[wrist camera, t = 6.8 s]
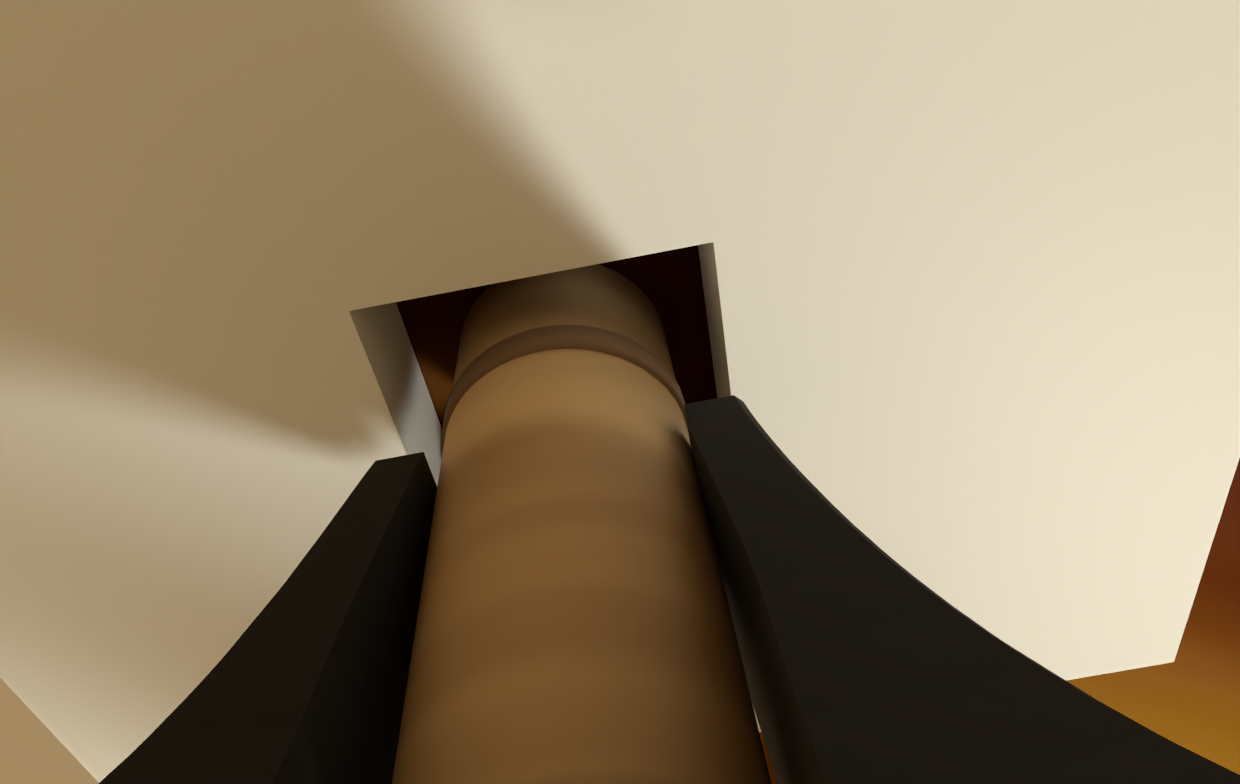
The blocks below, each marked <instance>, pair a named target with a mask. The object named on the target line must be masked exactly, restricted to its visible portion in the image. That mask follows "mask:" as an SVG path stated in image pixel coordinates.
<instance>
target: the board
mask: <svg viewBox="0 0 1240 784" xmlns="http://www.w3.org/2000/svg"><path fill="white" fill-rule="evenodd" d="M696 245H698V251H699V259H700V267H701V274H702V282H703V290H704V298H705V306H706V314H707V322H708V330H709V337H710V345H711V353H712V361H713V369H714V377H715V385H716V393H717V398H721V397H726V396H732V395H734V396H736V397H737V398H739V399H740V400H742V401H743V402H744V403H745V405H746V406H747V408H748V409H749V411H750V412H751V413H752V415H753V416H754V417H755V419H756V420H757V421H758V423H759V424H760V425H761V427H762V428H763V429H764V430H765V432H766V433H767V434H768V435H769V436H770V438H771V439H772V440H773V441H774V442H775V444H776V445H777V446H778V447H779V448H780V449H781V451H782V452H783V453H784V454H785V455H786V456H787V457H788V459H789V460H790V461H791V462H792V463H793V464H794V465H795V466H796V467H797V468H798V470H799V471H800V472H801V473H802V474H803V475H804V476H805V477H806V478H807V479H808V480H809V481H810V482H811V483H812V484H813V485H814V486H815V487H816V488H817V489H818V490H819V491H820V492H821V493H822V494H823V495H824V496H825V497H826V498H827V499H828V500H829V501H830V502H831V503H832V504H833V505H834V506H835V507H836V508H837V509H838V510H839V511H840V512H841V513H842V514H843V515H844V516H845V517H846V518H847V519H848V520H849V521H850V522H851V523H853V524H854V525H855V526H856V527H857V528H858V529H859V530H860V531H861V532H863V533H864V534H865V535H866V536H867V537H868V538H869V539H870V540H872V541H873V542H874V543H875V544H876V545H877V546H878V547H879V548H881V549H882V550H883V551H884V552H885V553H886V554H888V555H889V556H890V557H891V558H892V559H893V560H895V561H896V562H897V563H898V564H899V565H901V566H902V567H903V568H904V569H906V570H907V571H908V572H909V573H910V574H912V575H913V576H914V577H915V578H917V579H918V580H919V581H921V582H922V583H923V584H924V585H926V586H927V587H928V588H930V589H931V590H932V591H934V592H935V593H936V594H938V595H939V596H940V597H942V598H943V599H944V600H945V601H947V602H948V603H949V604H951V605H952V606H953V607H955V608H956V609H958V610H959V611H961V612H962V613H963V614H965V615H966V616H968V617H969V618H970V619H972V620H973V621H975V622H976V623H977V624H979V625H980V626H982V627H983V628H985V629H986V630H987V631H989V632H990V633H992V634H993V635H994V636H996V637H997V638H999V639H1000V640H1002V641H1003V642H1005V643H1006V644H1008V645H1010V646H1011V647H1013V648H1014V649H1016V650H1018V651H1019V652H1021V653H1022V654H1024V655H1026V656H1027V657H1029V658H1030V659H1032V660H1034V661H1035V662H1037V663H1038V664H1040V665H1042V666H1043V667H1045V668H1046V669H1048V670H1050V671H1051V672H1053V673H1054V674H1056V675H1058V676H1059V677H1061V678H1062V679H1064V680H1071V679H1077V678H1083V677H1089V676H1094V675H1100V674H1106V673H1112V672H1118V671H1124V670H1130V669H1136V668H1142V667H1147V666H1153V665H1159V664H1165V663H1171V662H1174V660H1175V657H1176V654H1177V651H1178V648H1179V644H1180V641H1181V638H1182V635H1183V632H1184V629H1185V626H1186V623H1187V620H1188V616H1189V613H1190V610H1191V607H1192V604H1193V601H1194V598H1195V595H1196V592H1197V588H1198V585H1199V582H1200V579H1201V576H1202V573H1203V570H1204V567H1205V564H1206V560H1207V557H1208V554H1209V551H1210V548H1211V545H1212V542H1213V539H1214V536H1215V532H1216V529H1217V526H1218V523H1219V520H1220V517H1221V514H1222V511H1223V508H1224V504H1225V501H1226V498H1227V495H1228V492H1229V489H1230V486H1231V483H1232V480H1233V476H1234V473H1235V470H1236V467H1237V464H1238V461H1239V458H1240V0H0V678H1V679H2V680H3V681H4V682H5V683H6V684H7V685H8V686H9V688H10V689H11V690H12V691H13V692H14V693H15V694H16V695H17V696H18V697H19V698H20V699H21V700H22V701H23V702H24V703H25V705H26V706H27V707H28V708H29V709H30V710H31V711H32V712H33V713H34V714H35V715H36V716H37V717H38V718H39V719H40V721H41V722H42V723H43V724H44V725H45V726H46V727H47V728H48V729H49V730H50V731H51V732H52V733H53V734H54V735H55V737H56V738H57V739H58V740H59V741H60V742H61V743H62V744H63V745H64V746H65V747H66V748H67V749H68V750H69V751H70V752H71V754H72V755H73V756H74V757H75V758H76V759H77V760H78V761H79V762H80V763H81V764H82V765H83V766H84V767H85V768H86V769H87V770H88V772H89V773H91V775H92V776H93V777H94V778H95V779H96V780H97V781H98V782H99V783H100V782H101V781H102V780H103V779H104V778H105V777H106V776H107V775H108V774H109V773H111V772H112V771H113V770H114V769H115V768H116V767H117V766H118V765H119V764H120V763H121V762H123V761H124V760H125V759H126V758H127V757H128V756H129V755H130V754H131V753H132V752H133V751H134V750H135V749H136V748H137V747H138V746H139V745H140V744H141V743H142V742H143V741H145V740H146V739H147V738H148V737H149V736H150V735H151V734H152V732H153V731H154V730H155V729H156V728H157V727H158V726H159V725H160V724H161V723H162V722H163V721H164V720H165V719H166V718H167V717H168V716H169V715H170V714H171V713H172V712H173V711H174V710H175V709H176V708H177V707H178V706H179V705H180V704H181V703H182V702H183V701H184V700H185V699H186V698H187V697H188V695H189V694H190V693H191V692H192V691H193V690H194V689H195V688H196V687H197V686H198V685H199V684H200V682H201V681H202V680H203V679H204V678H205V677H206V676H207V675H208V674H209V673H210V672H211V670H212V669H213V668H214V667H215V666H216V665H217V664H218V663H219V661H220V660H221V659H222V658H223V657H224V656H225V655H226V653H227V652H228V651H229V650H230V649H231V647H232V646H233V645H234V644H235V643H236V641H237V640H238V639H239V638H240V637H241V635H242V634H243V633H244V632H245V630H246V629H247V628H248V627H249V626H250V624H251V623H252V622H253V621H254V620H255V618H256V617H257V616H258V615H259V614H260V612H261V611H262V610H263V609H264V608H265V606H266V605H267V604H268V603H269V602H270V600H271V599H272V598H273V597H274V595H275V594H276V593H277V592H278V591H279V589H280V588H281V587H282V586H283V584H284V583H285V582H286V581H287V579H288V578H289V577H290V575H291V574H292V573H293V571H294V570H295V569H296V567H297V566H298V565H299V563H300V562H301V561H302V559H303V558H304V557H305V555H306V554H307V553H308V551H309V550H310V549H311V547H312V546H313V545H314V543H315V542H316V541H317V539H318V538H319V537H320V535H321V534H322V533H323V531H324V530H325V529H326V527H327V526H328V524H329V523H330V522H331V520H332V519H333V518H334V516H335V515H336V513H337V512H338V511H339V509H340V508H341V507H342V505H343V504H344V502H345V501H346V500H347V498H348V497H349V496H350V494H351V493H352V491H353V490H354V489H355V487H356V486H357V485H358V483H359V482H360V480H361V479H362V478H363V476H364V475H365V474H366V472H367V471H368V470H369V468H370V467H371V466H372V465H373V463H374V462H375V461H377V460H382V459H387V458H393V457H398V456H404V455H409V454H415V453H420V452H424V454H425V457H426V459H427V462H428V464H429V467H430V470H431V472H432V475H433V477H434V480H435V483H436V485H437V486H438V480H439V473H440V467H441V460H442V459H441V446H440V443H441V435H442V427H441V424H440V422H439V419H438V416H437V413H436V411H435V408H434V405H433V402H432V400H431V397H430V394H429V391H428V389H427V386H426V383H425V380H424V378H423V375H422V372H421V370H420V367H419V364H418V361H417V359H416V356H415V353H414V350H413V348H412V345H411V342H410V339H409V337H408V334H407V331H406V328H405V326H404V323H403V320H402V317H401V315H400V312H399V309H398V306H397V304H396V302H399V301H405V300H410V299H415V298H420V297H426V296H431V295H436V294H442V293H447V292H452V291H458V290H463V289H468V288H473V287H479V286H484V285H489V284H495V283H500V282H505V281H510V280H516V279H521V278H526V277H532V276H537V275H542V274H547V273H553V272H558V271H563V270H569V269H574V268H579V267H585V266H590V265H595V264H600V263H606V262H611V261H616V260H622V259H627V258H632V257H637V256H643V255H648V254H653V253H659V252H664V251H669V250H675V249H680V248H685V247H690V246H696ZM753 709H754V707H753ZM754 713H755V710H754ZM755 717H756V721H757V726H758V730H759V732H761V729H760V726H759V723H758V719H757V716H756V713H755Z"/></svg>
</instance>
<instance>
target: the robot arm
mask: <svg viewBox="0 0 1240 784" xmlns="http://www.w3.org/2000/svg"><path fill="white" fill-rule="evenodd" d="M684 407H685V413H686V420H687V426H688V433H689V439H690V446H691V451H692V455H693V459H694V463H695V468H696V472H697V476H698V480H699V485H700V489H701V493H702V497H703V502H704V506H705V509H706V513H707V516H708V520H709V523H710V527H711V531H712V535H713V539H714V544H715V548H716V552H717V556H718V561H719V565H720V569H721V573H722V578H723V582H724V586H725V590H726V594H727V599H728V603H729V607H730V611H731V616H732V620H733V624H734V628H735V633H736V637H737V641H738V645H739V649H740V654H741V658H742V662H743V666H744V671H745V675H746V679H747V683H748V688H749V692H750V696H751V700H752V704H753V707H754V710H755V713H756V716H757V719H758V723H759V726H760V729H761V732H762V735H763V738H764V741H765V744H766V747H767V750H768V753H769V756H770V759H771V763H772V766H773V770H774V773H775V777H776V780H777V784H1240V775H1238V774H1236V773H1234V772H1232V771H1230V770H1228V769H1226V768H1224V767H1222V766H1220V765H1218V764H1216V763H1214V762H1212V761H1210V760H1208V759H1206V758H1204V757H1202V756H1200V755H1198V754H1196V753H1194V752H1192V751H1190V750H1188V749H1185V748H1183V747H1181V746H1179V745H1177V744H1175V743H1173V742H1172V741H1170V740H1168V739H1166V738H1164V737H1162V736H1160V735H1158V734H1156V733H1155V732H1153V731H1151V730H1149V729H1148V728H1146V727H1144V726H1142V725H1140V724H1139V723H1137V722H1135V721H1133V720H1132V719H1130V718H1128V717H1126V716H1124V715H1123V714H1121V713H1119V712H1117V711H1115V710H1114V709H1112V708H1110V707H1108V706H1107V705H1105V704H1103V703H1101V702H1099V701H1098V700H1096V699H1094V698H1093V697H1091V696H1090V695H1088V694H1086V693H1085V692H1083V691H1082V690H1080V689H1078V688H1077V687H1075V686H1074V685H1072V684H1070V683H1069V682H1067V681H1066V680H1064V679H1062V678H1061V677H1059V676H1058V675H1056V674H1054V673H1053V672H1051V671H1050V670H1048V669H1046V668H1045V667H1043V666H1042V665H1040V664H1038V663H1037V662H1035V661H1034V660H1032V659H1030V658H1029V657H1027V656H1026V655H1024V654H1022V653H1021V652H1019V651H1018V650H1016V649H1014V648H1013V647H1011V646H1010V645H1008V644H1006V643H1005V642H1003V641H1002V640H1000V639H999V638H997V637H996V636H994V635H993V634H992V633H990V632H989V631H987V630H986V629H985V628H983V627H982V626H980V625H979V624H977V623H976V622H975V621H973V620H972V619H970V618H969V617H968V616H966V615H965V614H963V613H962V612H961V611H959V610H958V609H956V608H955V607H953V606H952V605H951V604H949V603H948V602H947V601H945V600H944V599H943V598H942V597H940V596H939V595H938V594H936V593H935V592H934V591H932V590H931V589H930V588H928V587H927V586H926V585H924V584H923V583H922V582H921V581H919V580H918V579H917V578H915V577H914V576H913V575H912V574H910V573H909V572H908V571H907V570H906V569H904V568H903V567H902V566H901V565H899V564H898V563H897V562H896V561H895V560H893V559H892V558H891V557H890V556H889V555H888V554H886V553H885V552H884V551H883V550H882V549H881V548H879V547H878V546H877V545H876V544H875V543H874V542H873V541H872V540H870V539H869V538H868V537H867V536H866V535H865V534H864V533H863V532H861V531H860V530H859V529H858V528H857V527H856V526H855V525H854V524H853V523H851V522H850V521H849V520H848V519H847V518H846V517H845V516H844V515H843V514H842V513H841V512H840V511H839V510H838V509H837V508H836V507H835V506H834V505H833V504H832V503H831V502H830V501H829V500H828V499H827V498H826V497H825V496H824V495H823V494H822V493H821V492H820V491H819V490H818V489H817V488H816V487H815V486H814V485H813V484H812V483H811V482H810V481H809V480H808V479H807V478H806V477H805V476H804V475H803V474H802V473H801V472H800V471H799V470H798V468H797V467H796V466H795V465H794V464H793V463H792V462H791V461H790V460H789V459H788V457H787V456H786V455H785V454H784V453H783V452H782V451H781V449H780V448H779V447H778V446H777V445H776V444H775V442H774V441H773V440H772V439H771V438H770V436H769V435H768V434H767V433H766V432H765V430H764V429H763V428H762V427H761V425H760V424H759V423H758V421H757V420H756V419H755V417H754V416H753V415H752V413H751V412H750V411H749V409H748V408H747V406H746V405H745V403H744V402H743V401H742V400H740V399H739V398H737V397H736V396H734V395H732V396H726V397H721V398H716V399H710V400H705V401H699V402H694V403H688V404H684ZM436 493H437V485H436V483H435V480H434V477H433V475H432V472H431V470H430V467H429V464H428V462H427V459H426V457H425V454H424V452H420V453H415V454H409V455H404V456H398V457H393V458H387V459H382V460H377V461H375V462H374V463H373V465H372V466H371V467H370V468H369V470H368V471H367V472H366V474H365V475H364V476H363V478H362V479H361V480H360V482H359V483H358V485H357V486H356V487H355V489H354V490H353V491H352V493H351V494H350V496H349V497H348V498H347V500H346V501H345V502H344V504H343V505H342V507H341V508H340V509H339V511H338V512H337V513H336V515H335V516H334V518H333V519H332V520H331V522H330V523H329V524H328V526H327V527H326V529H325V530H324V531H323V533H322V534H321V535H320V537H319V538H318V539H317V541H316V542H315V543H314V545H313V546H312V547H311V549H310V550H309V551H308V553H307V554H306V555H305V557H304V558H303V559H302V561H301V562H300V563H299V565H298V566H297V567H296V569H295V570H294V571H293V573H292V574H291V575H290V577H289V578H288V579H287V581H286V582H285V583H284V584H283V586H282V587H281V588H280V589H279V591H278V592H277V593H276V594H275V595H274V597H273V598H272V599H271V600H270V602H269V603H268V604H267V605H266V606H265V608H264V609H263V610H262V611H261V612H260V614H259V615H258V616H257V617H256V618H255V620H254V621H253V622H252V623H251V624H250V626H249V627H248V628H247V629H246V630H245V632H244V633H243V634H242V635H241V637H240V638H239V639H238V640H237V641H236V643H235V644H234V645H233V646H232V647H231V649H230V650H229V651H228V652H227V653H226V655H225V656H224V657H223V658H222V659H221V660H220V661H219V663H218V664H217V665H216V666H215V667H214V668H213V669H212V670H211V672H210V673H209V674H208V675H207V676H206V677H205V678H204V679H203V680H202V681H201V682H200V684H199V685H198V686H197V687H196V688H195V689H194V690H193V691H192V692H191V693H190V694H189V695H188V697H187V698H186V699H185V700H184V701H183V702H182V703H181V704H180V705H179V706H178V707H177V708H176V709H175V710H174V711H173V712H172V713H171V714H170V715H169V716H168V717H167V718H166V719H165V720H164V721H163V722H162V723H161V724H160V725H159V726H158V727H157V728H156V729H155V730H154V731H153V732H152V734H151V735H150V736H149V737H148V738H147V739H146V740H145V741H143V742H142V743H141V744H140V745H139V746H138V747H137V748H136V749H135V750H134V751H133V752H132V753H131V754H130V755H129V756H128V757H127V758H126V759H125V760H124V761H123V762H121V763H120V764H119V765H118V766H117V767H116V768H115V769H114V770H113V771H112V772H111V773H109V774H108V775H107V776H106V777H105V778H104V779H103V780H102V781H101V782H100V783H99V784H392V779H393V772H394V766H395V759H396V753H397V746H398V740H399V733H400V727H401V720H402V714H403V707H404V701H405V694H406V688H407V681H408V675H409V668H410V662H411V655H412V649H413V642H414V636H415V629H416V623H417V616H418V610H419V603H420V597H421V590H422V584H423V577H424V571H425V564H426V558H427V551H428V545H429V538H430V532H431V525H432V519H433V512H434V506H435V499H436Z"/></svg>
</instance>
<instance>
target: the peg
mask: <svg viewBox="0 0 1240 784" xmlns="http://www.w3.org/2000/svg"><path fill="white" fill-rule="evenodd" d="M684 404H685V401H684V398H683V395H682V392H681V389H680V387H679V385H678V383H677V381H676V379H675V374H674V370H673V366H672V362H671V357H670V353H669V349H668V345H667V341H666V336H665V332H664V328H663V325H662V322H661V319H660V316H659V314H658V312H657V310H656V308H655V306H654V305H653V303H652V302H651V301H650V299H649V298H648V296H647V295H646V294H645V293H644V292H643V291H642V290H641V289H640V288H639V287H638V286H637V285H636V284H634V283H633V282H632V281H631V280H629V279H628V278H626V277H625V276H623V275H621V274H620V273H618V272H616V271H614V270H612V269H609V268H607V267H605V266H602V265H598V264H595V265H590V266H585V267H579V268H574V269H569V270H563V271H558V272H553V273H547V274H542V275H537V276H532V277H526V278H521V279H516V280H510V281H505V282H500V283H495V284H491V285H490V286H489V287H488V288H487V289H485V290H484V292H483V293H482V294H481V295H480V296H479V297H478V298H477V300H476V301H475V303H474V304H473V306H472V307H471V309H470V310H469V312H468V315H467V317H466V319H465V321H464V324H463V328H462V331H461V337H460V343H459V350H458V356H457V363H456V369H455V376H454V382H453V389H452V391H451V393H450V395H449V398H448V402H447V405H446V409H445V415H444V422H443V428H442V435H441V443H440V446H441V459H442V460H441V467H440V473H439V480H438V486H437V493H436V499H435V506H434V512H433V519H432V525H431V532H430V538H429V545H428V551H427V558H426V564H425V571H424V577H423V584H422V590H421V597H420V603H419V610H418V616H417V623H416V629H415V636H414V642H413V649H412V655H411V662H410V668H409V675H408V681H407V688H406V694H405V701H404V707H403V714H402V720H401V727H400V733H399V740H398V746H397V753H396V759H395V766H394V772H393V779H392V784H771V781H770V776H769V772H768V768H767V764H766V759H765V755H764V751H763V747H762V743H761V738H760V734H759V730H758V726H757V721H756V717H755V713H754V709H753V704H752V700H751V696H750V692H749V688H748V683H747V679H746V675H745V671H744V666H743V662H742V658H741V654H740V649H739V645H738V641H737V637H736V633H735V628H734V624H733V620H732V616H731V611H730V607H729V603H728V599H727V594H726V590H725V586H724V582H723V578H722V573H721V569H720V565H719V561H718V556H717V552H716V548H715V544H714V539H713V535H712V531H711V527H710V523H709V520H708V516H707V513H706V509H705V506H704V502H703V497H702V493H701V489H700V485H699V480H698V476H697V472H696V468H695V463H694V459H693V455H692V451H691V446H690V439H689V433H688V426H687V420H686V413H685V407H684Z"/></svg>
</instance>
